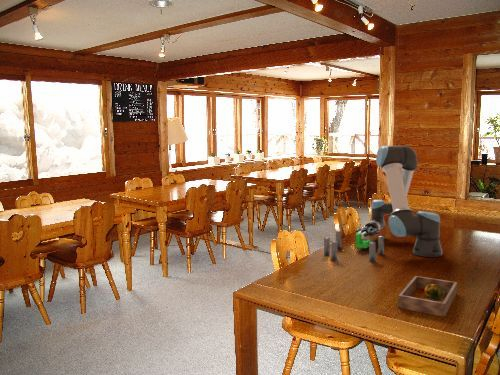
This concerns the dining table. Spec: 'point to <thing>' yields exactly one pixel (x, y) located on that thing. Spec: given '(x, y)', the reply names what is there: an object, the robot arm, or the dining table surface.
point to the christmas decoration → (434, 292)
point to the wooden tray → (424, 304)
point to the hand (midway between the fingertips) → (359, 236)
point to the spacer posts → (337, 244)
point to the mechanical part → (361, 241)
